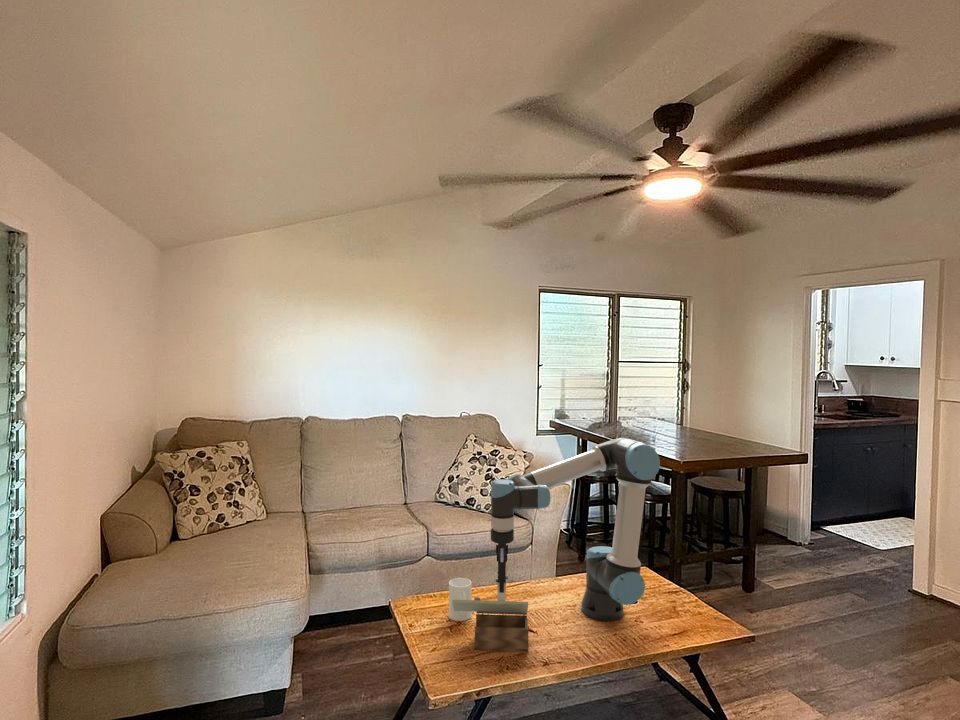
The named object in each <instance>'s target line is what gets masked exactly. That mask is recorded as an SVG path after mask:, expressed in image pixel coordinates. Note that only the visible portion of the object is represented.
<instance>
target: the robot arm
mask: <svg viewBox="0 0 960 720" xmlns="http://www.w3.org/2000/svg"><path fill="white" fill-rule="evenodd" d="M660 466H661V460H660V456H659V454H658V452H657V451H656V450H655V448H653V447H652V446H651V445H649V444H647V443H645V442H642V441H638V440H634V439H630V438H628V437H617V438H614V439H611V440H608V441H605V442H601V443H599V444H597V445H593V446H592V448H591V450H589V451H585V452H583V453H580V454H577V455H575V456H572V457H569V458H567V459H564V460H561V461H559V462H555V463H553V464H549V465H548V466H545V467H542V468H538V469H537V470H533V471H531V472H528V473H525V474H523V475H522V474H512V475H511V476H510V477H509V478H508V479H503V478H502V479H501V478H500V479H496V480H494V481H493V482H492V483H491V487H490V488H491V489H490V517H489V518H488V521H490V527H491V529H490V541H491V542H492V543H493V544H494V543H495V544H496V545H495V553H496V562H497V578H496V579H495V583H497V588H496V590H497V594H496V597H497V600H496V601H507V600H506V599H507V594H506V593H507V580H508V579H509V577H508V576H507V569H506V567H507V565H506V563H507V562H508V554H509V544H510V543H512V542H513V541H514V539H515V538H514V537H515V533H514V532H515V510H516V511H518V510H519V511H520V510H522V511H523V510H537V509H538V510H540V509H545V508H546V509H547V508H548V507H549V506H550V504H551V491H550V489H552V488H554V487H558V486H560V485H563V484H565V483H567V482H568V483H569V482H571V481H573V480H576V479H579V478H581V477H584V476H587V475H589V474H593V473H595V472H598V471H600V472H606V471H609V470H616V474H615V475H616V476H615V479H616V480H617V481H618V482H619V489H618V496H617V505H616V512H615V513H616V514H615V522H614V529H613V537H612V547H611V546H601V545H599V546H598V545H597V546H593V547H590V548H588V549H587V550H586V557H585V558H586V570H585V571H586V572H585V573H586V588H585V590H584V594H583V597H582V599H581V602H580V603H581V606H580V608H581V609H580V610H581V612H582V613H583V614H584V615H585V616H587V617H588V618H591V619H594V620H598V621H604V622H605V621H606V622H609V621H610V622H611V621H616V620H618V619H621V618H622V617H623V616H624V609H625V608H624V606H628V605H629V606H630V605H633V604H635V603H636V602H637V601H638V600H640V599H641V598H642V597H643V595H644V593H645V591H646V582H645V580H644V578H643V576H642V575H641V571H642V563H641V561H640V559H639V558H638V555H639V554H638V553H639V545H640V536H641V528H642V521H643V514H644V513H643V512H644V505H645V497H646V490H647V487H649V486H650V485H651V484H652V479H654V477H656V475H657V474H658V472H659V471H660Z"/></svg>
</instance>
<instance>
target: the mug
mask: <svg viewBox="0 0 960 720" xmlns="http://www.w3.org/2000/svg"><path fill="white" fill-rule="evenodd" d="M452 600H472V581H471V580H470V579H469V578H466V577H455V578H452V579H450V580H449V583H448V613H447V616H448V618H449V619H450V620H451V621H455V622H464V621H468V620H469V619H471V618H472V616H473V614H472V612H471V611H454V608H453V603H452Z"/></svg>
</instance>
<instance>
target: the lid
mask: <svg viewBox="0 0 960 720" xmlns="http://www.w3.org/2000/svg"><path fill="white" fill-rule="evenodd" d="M452 603H453V608H454V611H471V612H473V613H474V612H475V613H476V614H488V615H522V616H528V609H529V601H513V600H512V601H510V600H509V601H508V600H506V601H497V600H482V599H481V597H479V596H475V597H474V599H471V600H452Z"/></svg>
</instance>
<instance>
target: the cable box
mask: <svg viewBox="0 0 960 720" xmlns="http://www.w3.org/2000/svg"><path fill="white" fill-rule="evenodd" d="M474 650H475V651H495V652H497V651H498V652H500V651H501V652H505V651H506V652H529V621H528V615H517V614H483V613H476V614H475V626H474Z"/></svg>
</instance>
